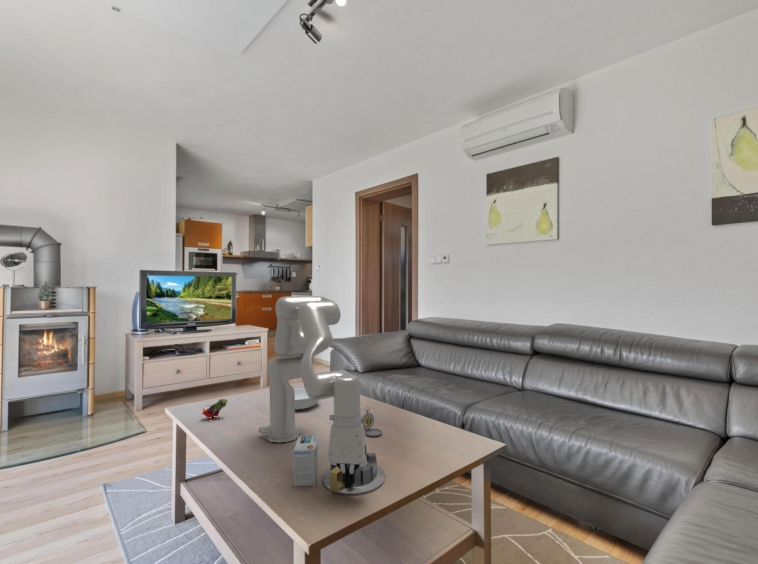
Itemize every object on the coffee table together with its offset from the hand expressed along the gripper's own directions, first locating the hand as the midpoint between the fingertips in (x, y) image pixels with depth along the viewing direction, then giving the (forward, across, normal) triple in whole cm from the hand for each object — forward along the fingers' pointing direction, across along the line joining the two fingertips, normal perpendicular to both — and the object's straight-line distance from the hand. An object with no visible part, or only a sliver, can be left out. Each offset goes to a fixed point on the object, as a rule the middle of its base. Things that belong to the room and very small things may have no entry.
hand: (349, 485), depth 108 cm
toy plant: (0, -78, +50) cm, 92 cm away
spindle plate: (+3, -2, +10) cm, 10 cm away
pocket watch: (+2, -4, +46) cm, 46 cm away
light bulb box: (+3, -16, +8) cm, 18 cm away
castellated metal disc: (+1, -1, +8) cm, 9 cm away
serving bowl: (0, -47, +73) cm, 87 cm away
